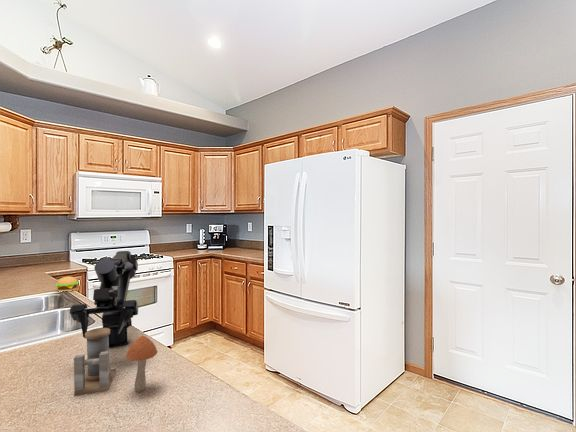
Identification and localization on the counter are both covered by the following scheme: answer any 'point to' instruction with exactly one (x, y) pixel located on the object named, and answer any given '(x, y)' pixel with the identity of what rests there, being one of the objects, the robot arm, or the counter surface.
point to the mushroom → (141, 358)
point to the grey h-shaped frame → (79, 372)
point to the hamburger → (67, 284)
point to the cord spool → (96, 350)
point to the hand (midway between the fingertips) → (101, 335)
